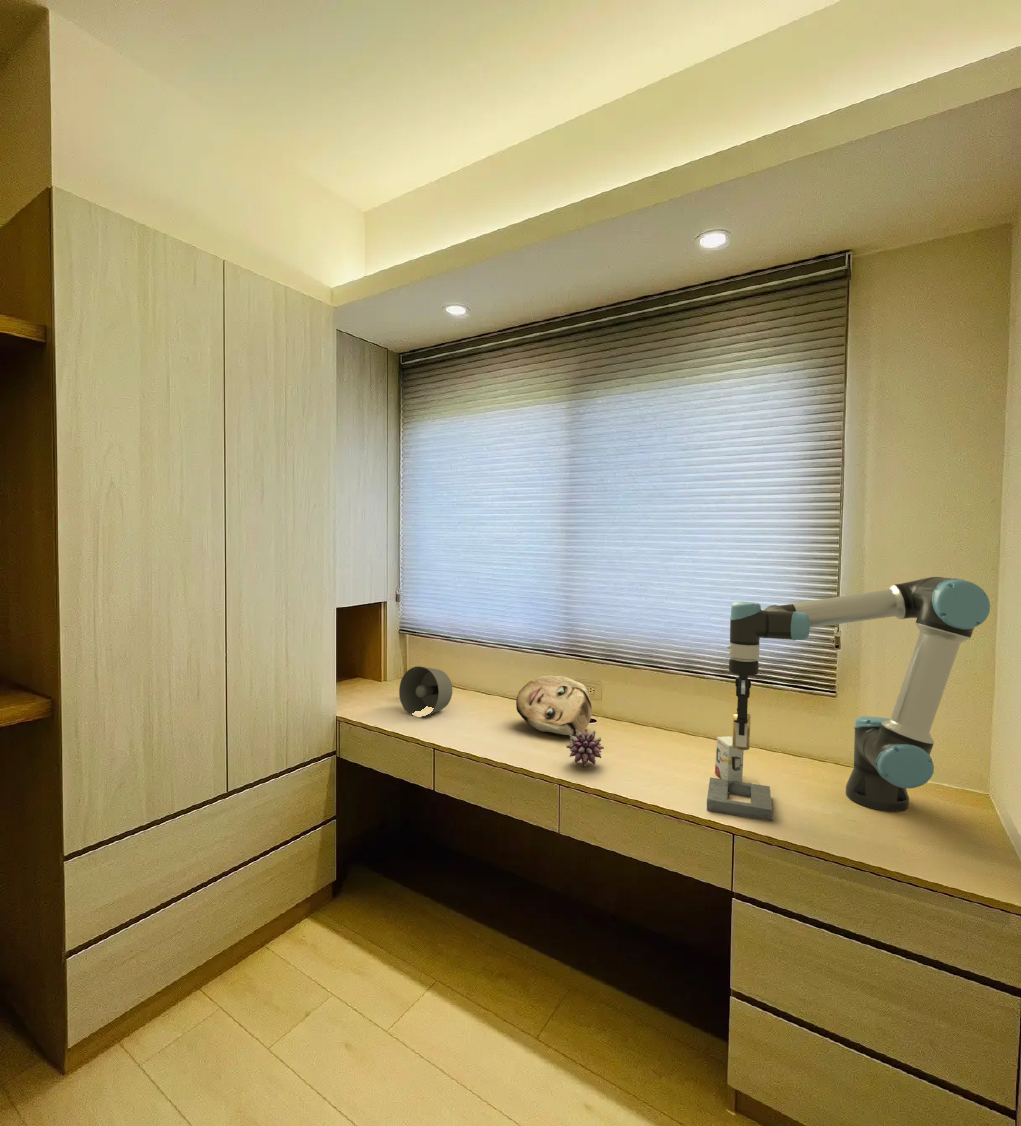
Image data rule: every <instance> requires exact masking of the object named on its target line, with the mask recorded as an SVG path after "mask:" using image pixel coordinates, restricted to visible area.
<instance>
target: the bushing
mask: <svg viewBox="0 0 1021 1126" xmlns="http://www.w3.org/2000/svg"><path fill="white" fill-rule="evenodd" d="M732 715H733V716H732V717H733V718H732V737H733V739H732V747H733V748H735V749H739V750H744V751H748V750H750V743H751V739H750V738H751V714H750V713H747V720H748V722H747V746H746V747H739V746H736V722H734V720H737V712H734V713H733V714H732Z"/></svg>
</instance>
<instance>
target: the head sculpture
mask: <svg viewBox="0 0 1021 1126" xmlns="http://www.w3.org/2000/svg"><path fill="white" fill-rule="evenodd" d="M515 701H516V703H515V704H516V705H515V706H516V707H515V708H516V711H517V713H518V715H519V716H520V717H521V718H522V719H523V721H525V722H526V724H528V725H530V726H531V727H532V728H534V729H536V730H538V731H539V732H542V733H548V732H549V733H553V734H556V735H559V736H560V735H561V736H570V735H571V736H576V731H575V730H578V731H579V732H581V733H582V734H583V732H584V729H585V728H587V729H588V726H589V725H590V721H591V719H592V715H593V712H592V711H593V709H592V701H591V696H590V694H589V690H588V689H587V687H586V686H585V685H584V684H583V683H581V682H578V681H577V680H576V681H575V680H574V679H572V678H569V677H566V676H564V675H563V676H562V675H559V676H553V675H550V674H549V675H545V676H544V675H541V676H539V677H536V678H534V679H532V680H530V681H528V682H527V683H526V684H525V685H524V686H523V687H522V688H521V689H520V690H519V691H518V694H517V696H516V700H515Z"/></svg>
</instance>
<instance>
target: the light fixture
mask: <svg viewBox="0 0 1021 1126" xmlns="http://www.w3.org/2000/svg"><path fill="white" fill-rule="evenodd" d="M398 691H399V692H398V696H399V699H400V700H399V701H400V704H401V706H402V708H403V709H404V711H405V712H406V713H407V714H409V715H410V714H412V713H414V712H415V711H421V710H422V709H424V708H425V707H426V706H428V707H432V708H434V709H433V711H432V712H431V713H430V714H428V715H426V716H423V717H422V718H425V717H427V716H430V715H432V714H435V713H437V712H439V711H442V710H444V709H445V708H446V707H447V706H448V705H449V704H450V702H451V700H452V696H453V685H452V681H451V678H450V677H449V676H448V674H447V673H446V672H444V670H441V669H437V668H431V667H426V666H414V667H411V668H409V669H408V670H407V671H406V672H405V673H404V674H403V676H402V677H401V680H400V684H399V688H398Z"/></svg>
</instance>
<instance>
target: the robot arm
mask: <svg viewBox="0 0 1021 1126" xmlns="http://www.w3.org/2000/svg"><path fill="white" fill-rule="evenodd" d="M990 611H991V602H990V598H989V596H988V595H987V593H986V591H985V590H984V589H983V588H981V586H979V585H977V584H976V583H974V582H971V581H968V580H965V579H961V578H951V577H944V576H943V577H942V576H931V577H925V578H920V579H915V580H911V581H907V582H902V583H895V584H891V585H890V586H889V587H888V589H882V590H875V591H869V592H868V591H867V592H861V593H856V594H849V595H848V594H847V595H843V596H842V595H841V596H835V597H829V598H828V597H827V598H822V599H814V600H808V601H802V602H794V603H789V604H783V605H777V604H771V605H768V606H765V607H764V608H763V609H762V606H761V604H760V603H758V602H753V601H735V602H733V603H732V604H731V609H730V617H729V620H730V622H729V627H730V629H729V645H727V647H726V648H727V649H728V650H729V657H730V658H729V660H728V672H730V673H731V674H734V675H738V677H735V679H734V680H735V696H736V697H737V708H736V711H737V712H736V713H737V720H734V722H736V746H739V747H746V746H747V722H748V720H747V714H748V703H749V698H750V697H751V696H750V695H751V691H750V689H751V687H752V682H751V681H752V680H751V679H749V676H757V675H758V674H759V667H760V666H759V665H760V663H759V661H758V660H759V659H760V639H771V640H772V639H775V640H790V641H805V640H807V639H808V638H809V636H810V630H811V628H820V627H826V626H833V625H841V624H849V623H855V622H863V621H870V620H876V619H877V620H879V619H885V618H891V617H896V618H897V620H898V619H899V620H906V619H916V620H915V626H916V627H917V629H918V631H919V634H918V637H917V640H916V643H915V645H914V648H913V651H912V655H911V657H910V660H909V663H908V666H907V669H906V672H905V675H904V679H903V681H902V684H901V686H900V690H899V693H898V696H897V698H896V701H895V703H894V704H895V705H894V707H893V711H892V713H891V716H890V718H887V717H878V716H859V717H857V718H856V719H855V723H854V724H855V725H854V728H853V730H854V741H853V742H854V746H853V750H854V751H853V752H854V754H853V769H852V771H851V774H850V775H849V778H848V780H847V782H846V784H845V796H846V797H847V798H848V799H850V800H851V801H852V802H854V803H856V804H858V805H861V806H864V807H867V808H870V809H873V810H879V811H887V812H903V811H907V810H908V809H909V808H910V797H909V794H908V790H907V789H916V788H918V787H921V786H924V785H925V784H927V783H928V782H929V781H930V780H931V778H932V777H933V775H934V771H935V766H934V761H933V759H932V757H931V752H932V749H933V747H934V744H935V740H934V738H933V737H932V735H931V733H930V732H931V729H932V727H933V726H932V725H933V723H934V721H935V718H936V715H937V712H938V709H939V706H940V704H941V700H942V697H943V694H944V691H945V690H946V689H945V688H946V686H947V684H948V683H947V682H948V680H949V677H950V674H951V671H952V669H953V666H954V662H955V659H956V657H957V654H958V652H959V649H960V645H961V644H962V643H963V642H964V643H965V642H966V641H969V640H970V639H971V638H972V635H973V633H974V632H973V631H974V629H975V628H976V627H978V626H980V625H982V624H983V623H984V622H985V621H986V620H987V618H988V617H989V615H990Z"/></svg>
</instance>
